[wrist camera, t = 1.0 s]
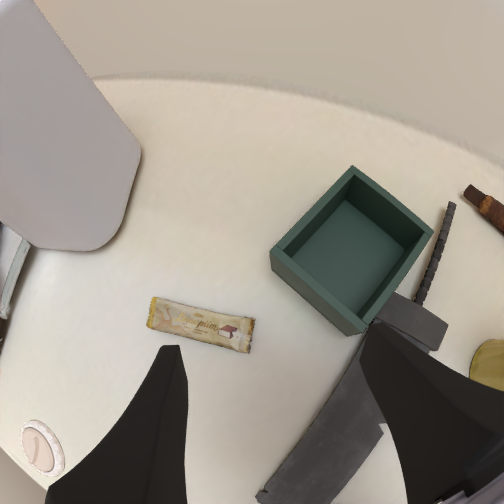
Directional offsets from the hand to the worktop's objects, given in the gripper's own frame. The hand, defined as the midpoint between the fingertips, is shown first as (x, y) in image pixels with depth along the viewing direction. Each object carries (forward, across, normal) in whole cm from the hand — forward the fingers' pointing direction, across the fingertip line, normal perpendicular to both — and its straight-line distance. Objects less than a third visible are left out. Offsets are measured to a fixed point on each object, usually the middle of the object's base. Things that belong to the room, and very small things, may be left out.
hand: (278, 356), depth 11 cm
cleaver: (+20, +32, +9) cm, 39 cm away
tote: (+14, -9, +4) cm, 18 cm away
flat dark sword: (+7, -11, +11) cm, 17 cm away
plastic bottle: (+26, +18, -1) cm, 32 cm away
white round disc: (+5, +25, +22) cm, 34 cm away
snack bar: (+13, +4, +9) cm, 16 cm away
